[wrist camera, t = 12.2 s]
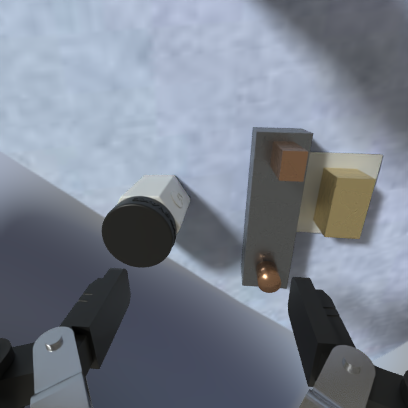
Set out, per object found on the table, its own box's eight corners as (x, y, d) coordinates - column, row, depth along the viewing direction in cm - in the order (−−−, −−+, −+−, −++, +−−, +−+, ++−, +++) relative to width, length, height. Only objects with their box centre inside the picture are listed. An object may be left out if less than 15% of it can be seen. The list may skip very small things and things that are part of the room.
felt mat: (304, 151, 36) (305, 152, 36) (381, 154, 35) (382, 155, 35) (291, 230, 40) (292, 231, 40) (359, 234, 40) (360, 235, 39)
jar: (200, 210, 41) (189, 252, 29) (157, 233, 43) (132, 281, 32) (167, 160, 38) (141, 186, 27) (123, 187, 40) (83, 222, 29)
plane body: (252, 127, 35) (262, 139, 25) (302, 128, 35) (332, 141, 25) (240, 265, 44) (244, 316, 33) (280, 268, 43) (296, 320, 33)
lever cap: (323, 167, 36) (337, 177, 31) (356, 168, 36) (376, 179, 31) (313, 220, 39) (324, 236, 34) (343, 222, 39) (359, 238, 34)
